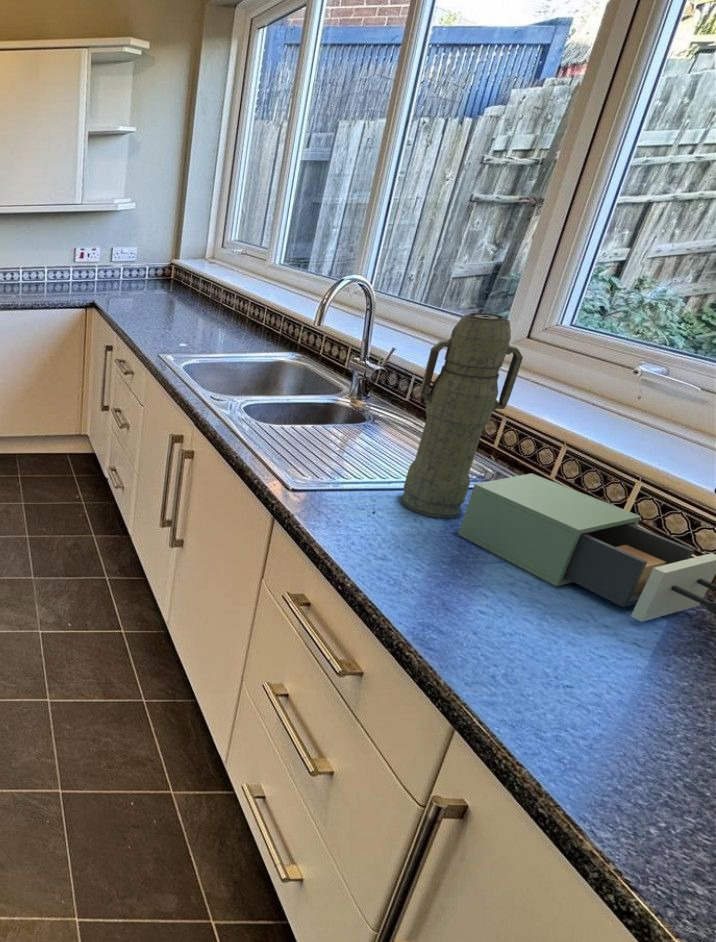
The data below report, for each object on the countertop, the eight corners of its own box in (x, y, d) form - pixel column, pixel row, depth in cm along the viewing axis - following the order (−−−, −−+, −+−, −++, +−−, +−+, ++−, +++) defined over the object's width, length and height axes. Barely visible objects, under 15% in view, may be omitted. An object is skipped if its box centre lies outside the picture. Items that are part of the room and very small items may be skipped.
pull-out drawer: (749, 629, 80) (777, 579, 77) (690, 647, 77) (717, 596, 74) (584, 552, 96) (602, 508, 93) (530, 564, 94) (547, 520, 91)
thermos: (385, 489, 118) (434, 308, 105) (460, 500, 114) (520, 312, 101) (396, 511, 110) (450, 319, 97) (476, 524, 106) (543, 324, 93)
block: (653, 588, 86) (666, 561, 84) (631, 594, 85) (643, 567, 83) (614, 570, 90) (626, 544, 88) (592, 576, 89) (603, 549, 87)
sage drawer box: (616, 571, 93) (641, 516, 90) (556, 586, 90) (579, 530, 86) (513, 522, 106) (531, 473, 103) (457, 534, 103) (474, 483, 100)
